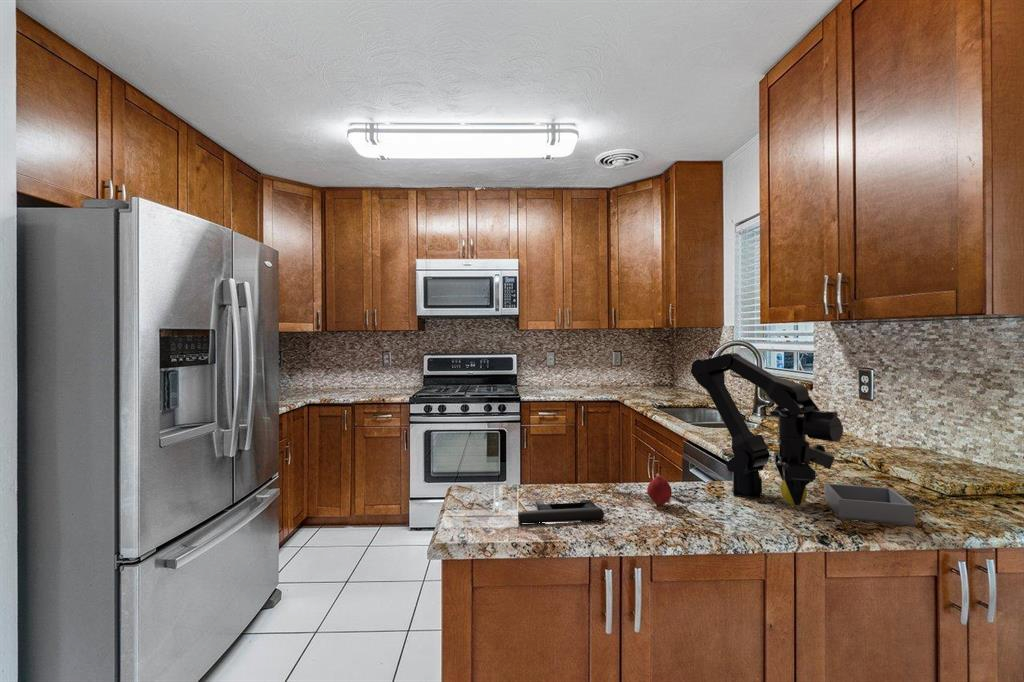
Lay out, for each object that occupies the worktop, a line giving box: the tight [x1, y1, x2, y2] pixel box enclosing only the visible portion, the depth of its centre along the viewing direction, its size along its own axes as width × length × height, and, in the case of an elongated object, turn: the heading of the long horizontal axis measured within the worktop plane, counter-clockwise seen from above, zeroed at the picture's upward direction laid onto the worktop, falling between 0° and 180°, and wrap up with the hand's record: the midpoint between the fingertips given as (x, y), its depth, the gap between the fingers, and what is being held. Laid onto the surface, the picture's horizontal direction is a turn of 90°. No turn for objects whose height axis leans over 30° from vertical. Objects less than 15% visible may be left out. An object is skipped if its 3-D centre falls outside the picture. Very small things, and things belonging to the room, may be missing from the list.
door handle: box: [517, 498, 605, 524], centre depth 119 cm, size 3×20×16 cm
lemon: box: [780, 480, 808, 508], centre depth 120 cm, size 6×6×8 cm
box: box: [823, 482, 916, 527], centre depth 116 cm, size 14×14×4 cm
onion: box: [646, 473, 673, 507], centre depth 123 cm, size 6×6×8 cm
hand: (793, 499), depth 120 cm, fingers open, 9 cm apart
